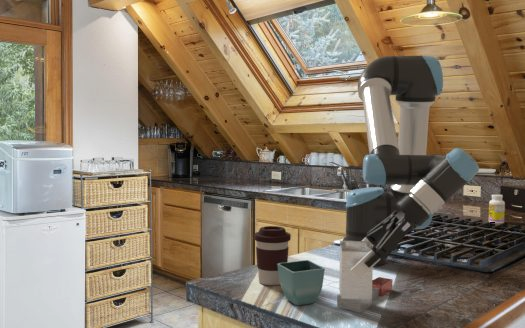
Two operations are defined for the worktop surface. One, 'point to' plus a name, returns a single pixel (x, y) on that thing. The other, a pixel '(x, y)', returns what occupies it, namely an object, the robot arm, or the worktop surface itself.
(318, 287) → the flower pot
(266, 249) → the coffee cup
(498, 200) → the supplement bottle
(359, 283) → the tall white upright block
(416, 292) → the worktop surface
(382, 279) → the tiny brick pile
